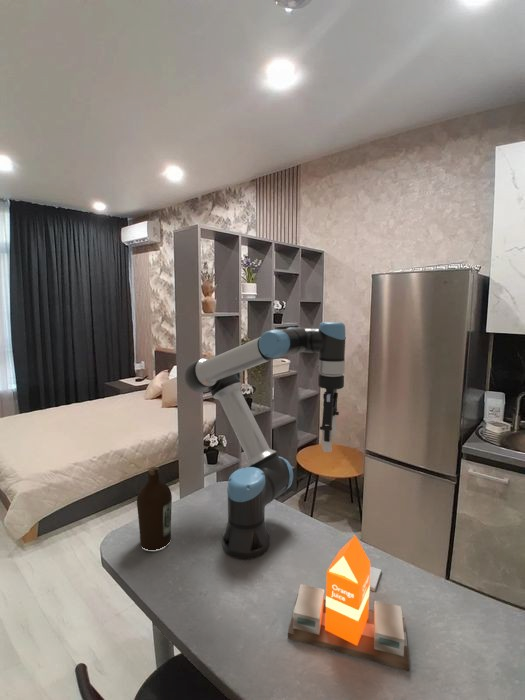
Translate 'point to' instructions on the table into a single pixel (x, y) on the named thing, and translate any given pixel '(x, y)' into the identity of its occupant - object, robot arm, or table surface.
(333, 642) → the rail board
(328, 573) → the orange juice
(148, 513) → the olive oil
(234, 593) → the table surface
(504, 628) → the table surface
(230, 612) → the table surface
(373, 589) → the external hard drive
